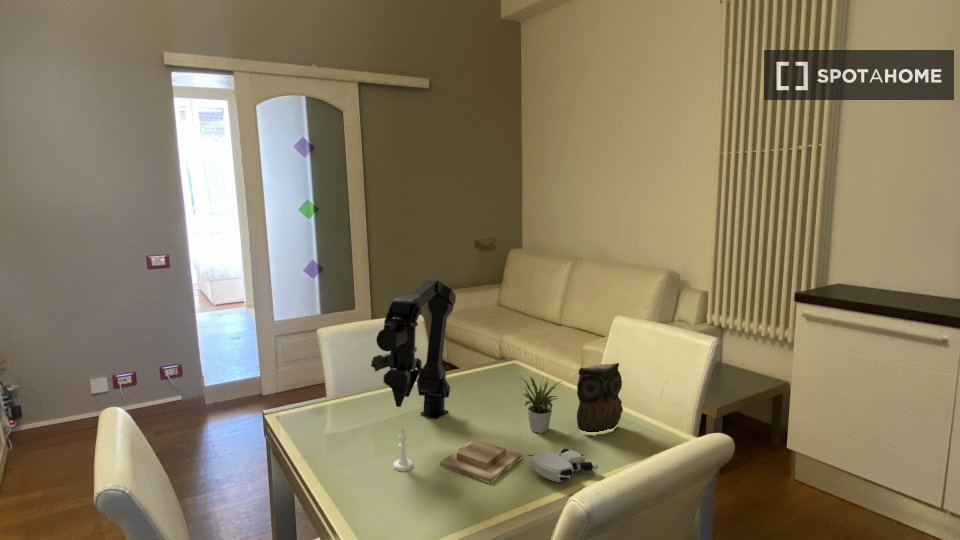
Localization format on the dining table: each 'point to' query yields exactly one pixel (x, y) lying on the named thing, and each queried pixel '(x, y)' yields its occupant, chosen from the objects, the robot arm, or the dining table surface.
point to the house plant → (539, 406)
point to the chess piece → (402, 454)
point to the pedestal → (481, 460)
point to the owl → (599, 397)
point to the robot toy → (559, 464)
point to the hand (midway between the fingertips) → (402, 401)
